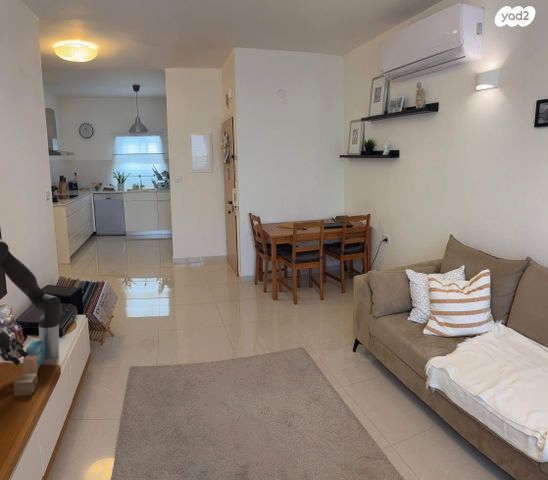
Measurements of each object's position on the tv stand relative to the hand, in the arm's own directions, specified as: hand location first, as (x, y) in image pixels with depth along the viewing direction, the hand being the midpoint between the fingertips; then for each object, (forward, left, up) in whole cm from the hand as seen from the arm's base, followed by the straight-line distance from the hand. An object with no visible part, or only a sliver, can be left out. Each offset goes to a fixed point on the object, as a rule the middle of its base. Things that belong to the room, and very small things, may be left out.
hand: (22, 360), depth 207 cm
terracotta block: (+2, +2, -9) cm, 9 cm away
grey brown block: (+14, -5, -9) cm, 17 cm away
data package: (-8, +9, -9) cm, 15 cm away
